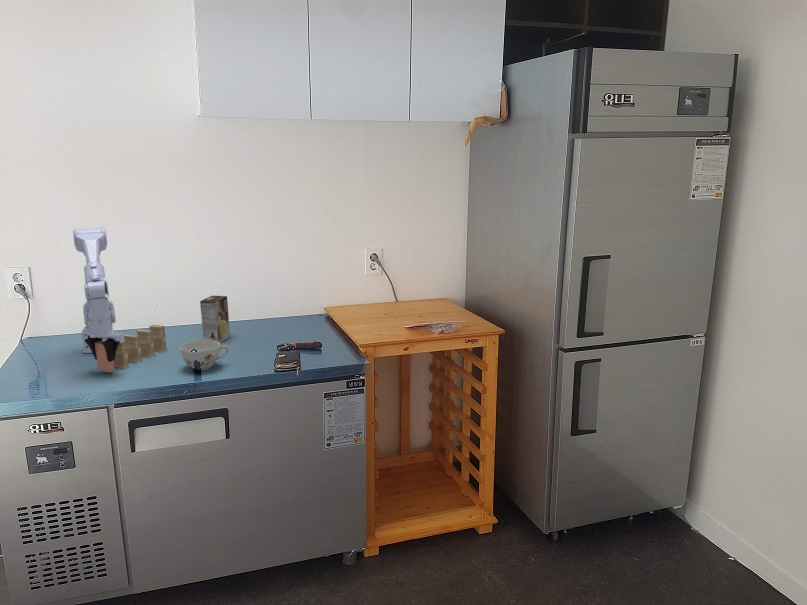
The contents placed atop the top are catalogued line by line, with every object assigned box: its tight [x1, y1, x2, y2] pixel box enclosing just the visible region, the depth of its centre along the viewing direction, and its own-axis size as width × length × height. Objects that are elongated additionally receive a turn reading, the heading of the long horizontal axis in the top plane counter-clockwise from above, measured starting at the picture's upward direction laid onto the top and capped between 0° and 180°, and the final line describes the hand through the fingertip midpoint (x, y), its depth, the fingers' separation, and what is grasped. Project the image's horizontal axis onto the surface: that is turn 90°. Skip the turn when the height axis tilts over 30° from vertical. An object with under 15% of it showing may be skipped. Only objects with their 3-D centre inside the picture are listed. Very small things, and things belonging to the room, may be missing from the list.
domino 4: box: [149, 324, 168, 353], centre depth 219 cm, size 2×5×9 cm, turn 70°
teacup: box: [179, 338, 229, 371], centre depth 203 cm, size 15×12×8 cm
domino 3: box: [136, 328, 156, 358], centre depth 214 cm, size 2×5×9 cm, turn 70°
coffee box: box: [199, 295, 231, 344], centre depth 231 cm, size 9×6×16 cm
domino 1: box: [113, 339, 130, 370], centre depth 203 cm, size 2×5×9 cm, turn 70°
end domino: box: [95, 341, 115, 373], centre depth 197 cm, size 2×5×9 cm, turn 70°
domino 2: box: [123, 333, 143, 364], centre depth 209 cm, size 2×5×9 cm, turn 69°
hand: (104, 359), depth 198 cm, fingers closed on end domino, 5 cm apart
